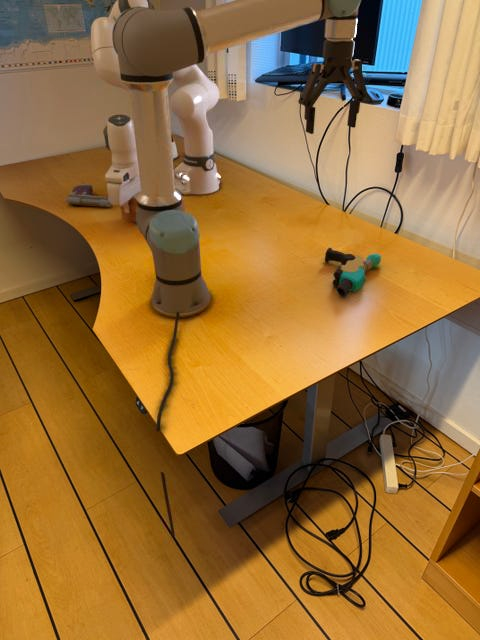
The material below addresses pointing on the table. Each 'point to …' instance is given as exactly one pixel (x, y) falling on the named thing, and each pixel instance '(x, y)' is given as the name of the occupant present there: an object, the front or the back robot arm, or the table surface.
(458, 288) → the table surface
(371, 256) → the toy gun
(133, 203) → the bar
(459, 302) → the table surface
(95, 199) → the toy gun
